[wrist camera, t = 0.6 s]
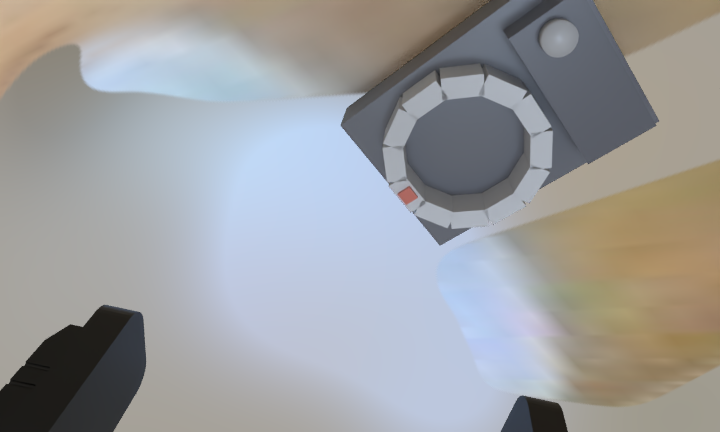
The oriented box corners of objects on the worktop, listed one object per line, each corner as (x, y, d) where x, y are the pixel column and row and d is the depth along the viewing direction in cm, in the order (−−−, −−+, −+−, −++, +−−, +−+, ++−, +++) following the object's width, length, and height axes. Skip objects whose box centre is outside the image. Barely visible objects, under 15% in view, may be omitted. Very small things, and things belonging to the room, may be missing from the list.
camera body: (555, -48, 27) (585, -37, 22) (639, 102, 31) (681, 141, 26) (346, 108, 33) (333, 144, 28) (438, 221, 36) (441, 271, 31)
